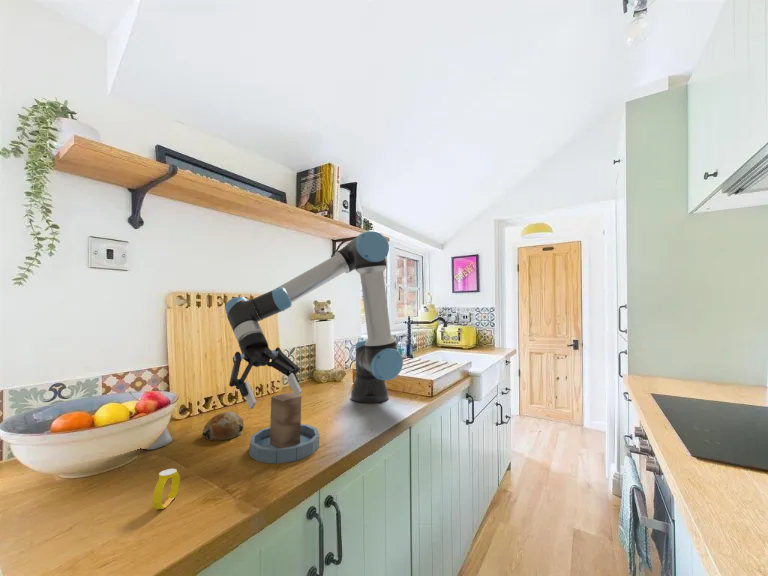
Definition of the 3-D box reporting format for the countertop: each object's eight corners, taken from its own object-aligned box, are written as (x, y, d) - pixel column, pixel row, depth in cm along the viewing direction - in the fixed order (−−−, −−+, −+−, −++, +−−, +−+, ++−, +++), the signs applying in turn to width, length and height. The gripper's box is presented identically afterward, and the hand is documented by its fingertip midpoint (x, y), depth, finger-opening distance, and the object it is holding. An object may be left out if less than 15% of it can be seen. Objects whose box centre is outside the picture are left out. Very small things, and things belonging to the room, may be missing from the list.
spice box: (288, 437, 88) (289, 392, 88) (300, 442, 84) (301, 396, 85) (269, 443, 84) (271, 396, 84) (281, 449, 80) (282, 400, 81)
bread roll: (231, 454, 88) (245, 426, 89) (194, 440, 86) (209, 412, 87) (239, 439, 97) (251, 414, 98) (206, 427, 95) (219, 401, 97)
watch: (167, 497, 62) (170, 464, 63) (182, 497, 62) (185, 464, 63) (146, 515, 56) (150, 478, 57) (163, 514, 56) (166, 478, 57)
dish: (294, 429, 96) (294, 419, 96) (331, 446, 85) (331, 434, 85) (237, 448, 83) (238, 436, 83) (272, 470, 72) (273, 456, 72)
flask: (153, 452, 81) (155, 411, 81) (130, 449, 82) (132, 409, 83) (177, 440, 88) (179, 403, 88) (155, 438, 89) (157, 401, 90)
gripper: (282, 343, 108) (309, 397, 97) (203, 352, 89) (225, 420, 78) (292, 328, 105) (320, 382, 94) (211, 334, 86) (236, 402, 75)
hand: (277, 400), depth 86 cm, fingers open, 13 cm apart
